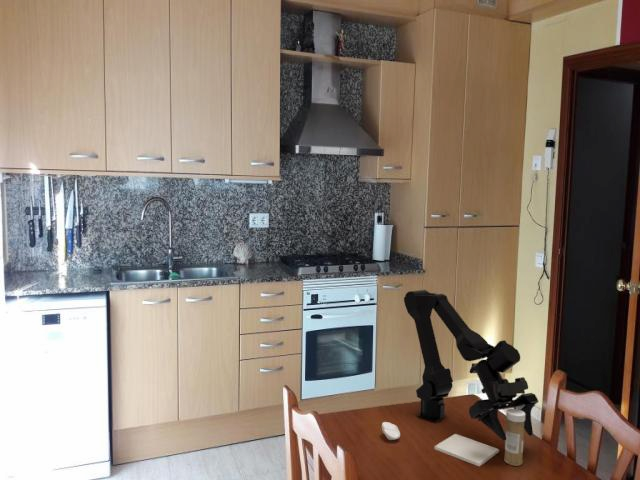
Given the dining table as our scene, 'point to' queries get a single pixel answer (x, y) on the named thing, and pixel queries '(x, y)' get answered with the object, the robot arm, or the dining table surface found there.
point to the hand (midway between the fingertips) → (518, 437)
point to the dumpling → (390, 431)
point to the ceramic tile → (467, 449)
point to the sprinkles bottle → (514, 437)
